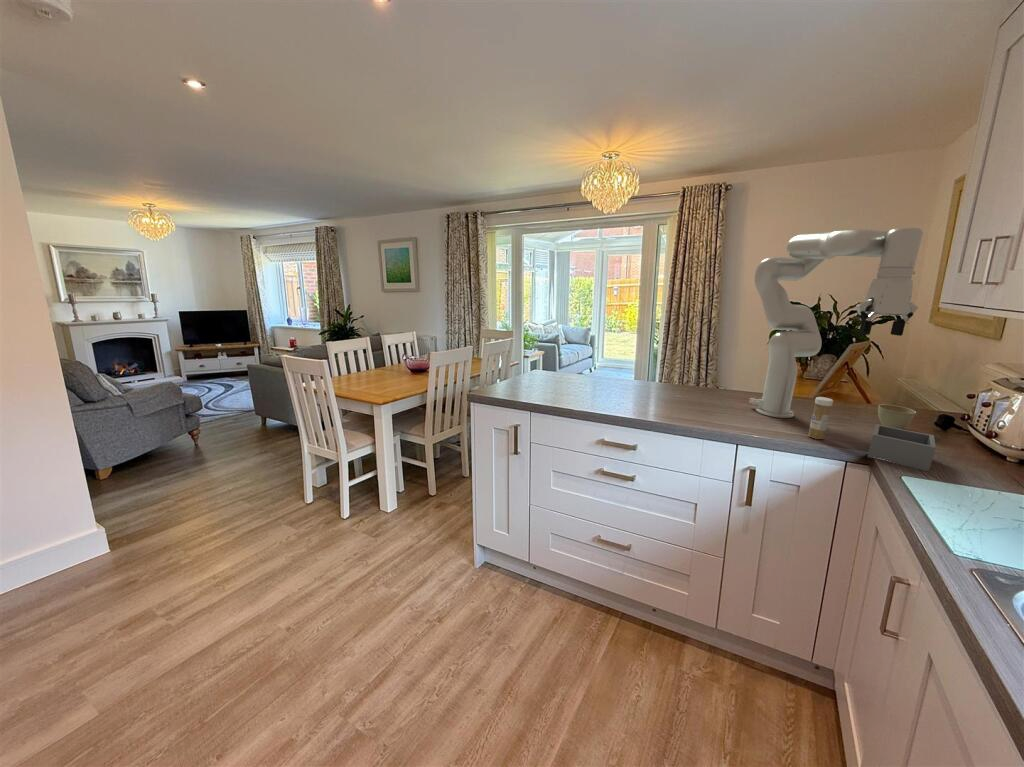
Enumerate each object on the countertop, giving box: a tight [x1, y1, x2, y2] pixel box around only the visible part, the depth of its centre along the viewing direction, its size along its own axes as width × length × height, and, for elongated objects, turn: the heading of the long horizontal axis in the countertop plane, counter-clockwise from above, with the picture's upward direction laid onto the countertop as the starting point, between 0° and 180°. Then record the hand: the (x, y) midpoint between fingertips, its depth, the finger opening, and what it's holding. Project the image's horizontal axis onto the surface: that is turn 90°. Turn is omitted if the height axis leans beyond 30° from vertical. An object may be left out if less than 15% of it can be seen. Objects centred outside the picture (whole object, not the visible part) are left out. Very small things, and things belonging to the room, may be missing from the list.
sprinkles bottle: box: [807, 396, 834, 440], centre depth 135 cm, size 5×5×14 cm
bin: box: [867, 423, 937, 472], centre depth 122 cm, size 13×13×7 cm
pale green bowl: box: [877, 403, 917, 430], centre depth 148 cm, size 10×10×7 cm
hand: (880, 334), depth 123 cm, fingers open, 9 cm apart
